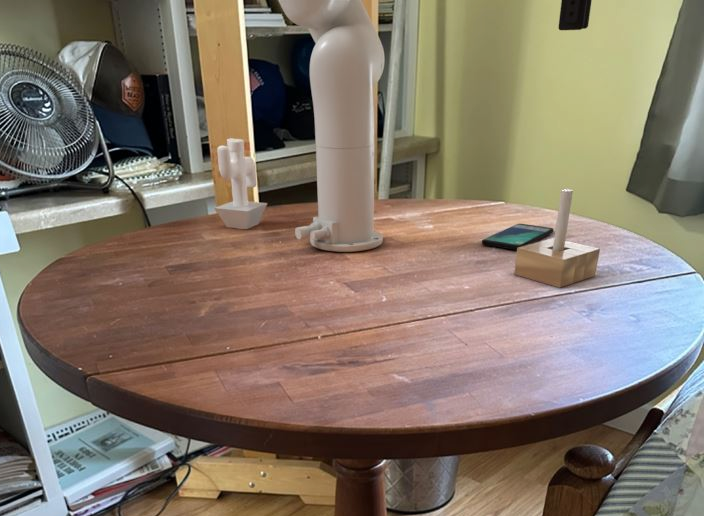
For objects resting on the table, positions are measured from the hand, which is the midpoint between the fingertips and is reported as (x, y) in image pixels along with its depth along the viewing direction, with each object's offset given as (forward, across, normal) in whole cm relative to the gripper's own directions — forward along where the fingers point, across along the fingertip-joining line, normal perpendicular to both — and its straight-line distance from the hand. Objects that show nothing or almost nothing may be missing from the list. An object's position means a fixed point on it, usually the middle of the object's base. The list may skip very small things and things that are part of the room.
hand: (573, 29), depth 98 cm
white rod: (+31, +12, +3) cm, 33 cm away
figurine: (+30, -2, -57) cm, 64 cm away
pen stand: (+31, +12, +3) cm, 33 cm away
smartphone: (+31, -7, -5) cm, 32 cm away
